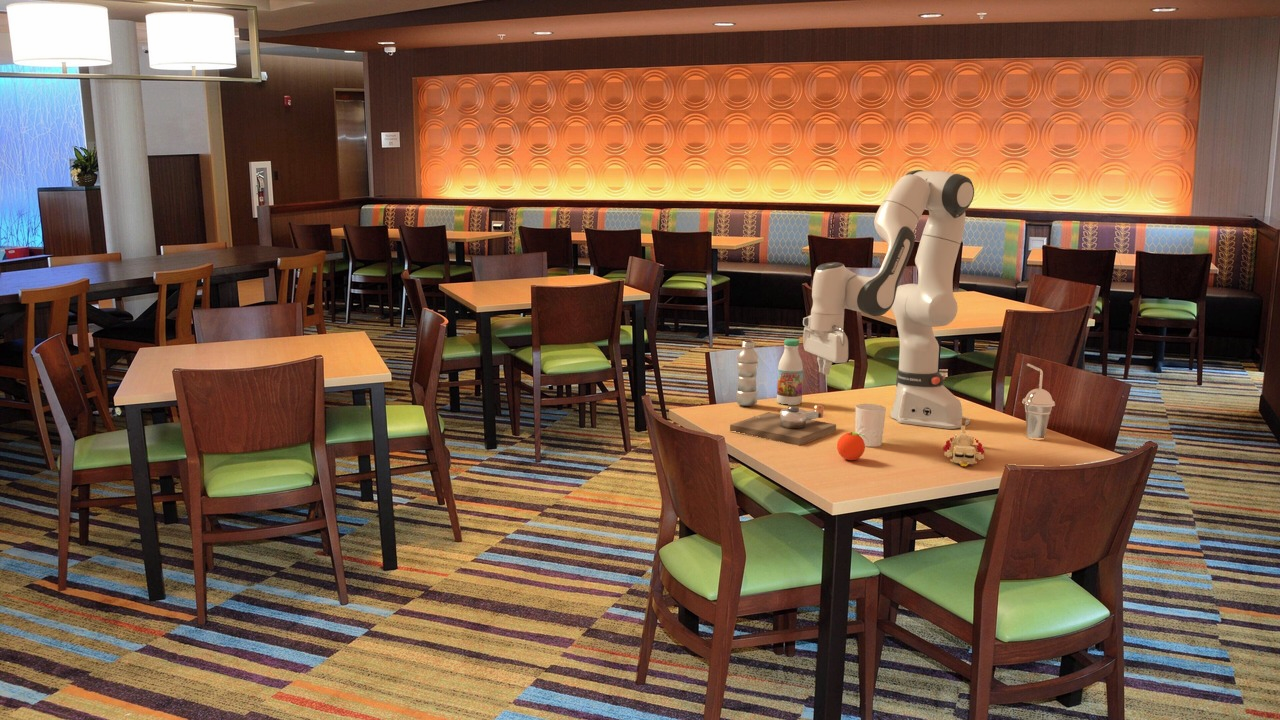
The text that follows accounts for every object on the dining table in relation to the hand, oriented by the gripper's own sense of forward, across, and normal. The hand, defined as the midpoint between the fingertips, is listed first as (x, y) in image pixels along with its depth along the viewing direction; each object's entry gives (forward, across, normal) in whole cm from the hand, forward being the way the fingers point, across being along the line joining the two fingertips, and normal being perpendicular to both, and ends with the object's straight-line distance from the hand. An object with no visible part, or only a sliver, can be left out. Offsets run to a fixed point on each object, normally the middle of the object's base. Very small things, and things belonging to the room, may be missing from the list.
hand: (824, 373), depth 285 cm
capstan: (+15, +5, +3) cm, 16 cm away
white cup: (+17, -12, -8) cm, 22 cm away
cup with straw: (+17, -17, -56) cm, 61 cm away
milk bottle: (+17, +38, -8) cm, 43 cm away
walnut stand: (+17, +6, +9) cm, 20 cm away
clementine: (+18, -24, +3) cm, 30 cm away
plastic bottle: (+17, +38, +6) cm, 42 cm away
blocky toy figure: (+17, -28, -26) cm, 42 cm away
